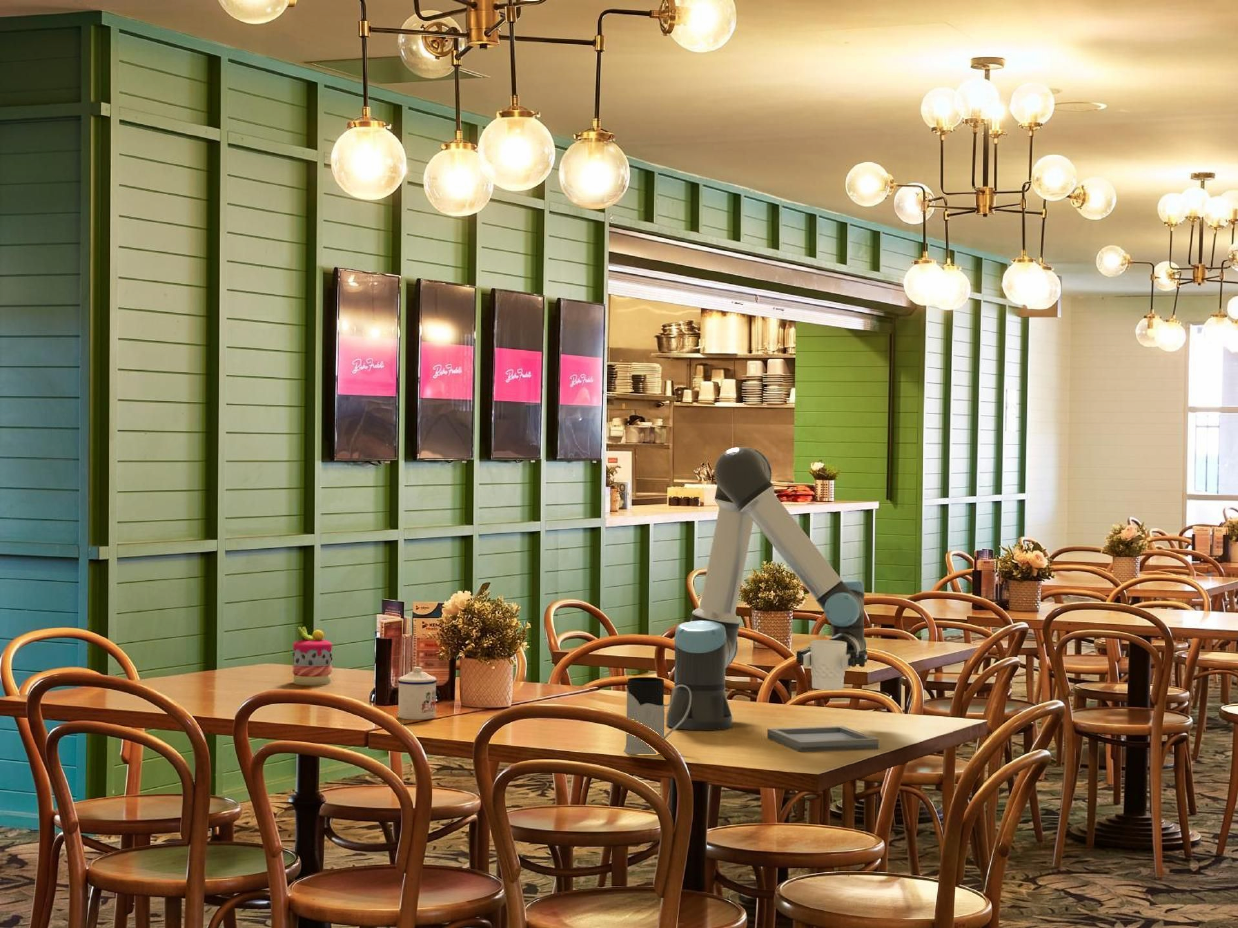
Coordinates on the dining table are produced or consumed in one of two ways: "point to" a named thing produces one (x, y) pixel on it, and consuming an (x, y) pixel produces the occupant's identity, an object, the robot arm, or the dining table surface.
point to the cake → (312, 659)
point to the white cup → (827, 664)
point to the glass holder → (648, 710)
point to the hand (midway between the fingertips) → (824, 662)
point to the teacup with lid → (417, 695)
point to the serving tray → (822, 738)
